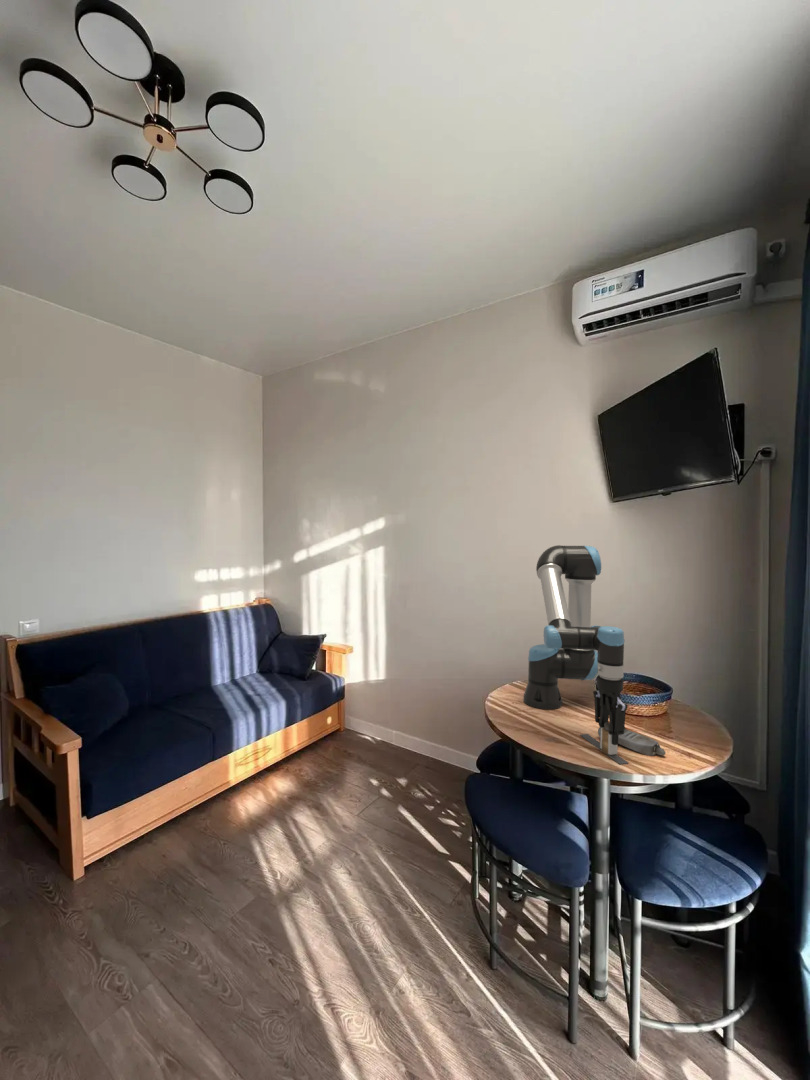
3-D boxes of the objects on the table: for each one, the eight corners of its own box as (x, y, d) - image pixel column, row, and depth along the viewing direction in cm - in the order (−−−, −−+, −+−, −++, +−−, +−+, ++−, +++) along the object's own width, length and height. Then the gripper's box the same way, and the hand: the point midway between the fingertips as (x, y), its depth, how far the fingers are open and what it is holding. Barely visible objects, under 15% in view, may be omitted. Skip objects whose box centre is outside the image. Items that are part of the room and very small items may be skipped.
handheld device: (659, 763, 136) (659, 748, 135) (595, 740, 151) (595, 726, 151) (671, 753, 142) (671, 739, 142) (609, 732, 157) (609, 719, 157)
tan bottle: (599, 749, 142) (600, 721, 142) (609, 748, 143) (609, 721, 143) (606, 755, 139) (607, 726, 139) (616, 754, 140) (617, 725, 139)
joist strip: (579, 735, 153) (579, 734, 153) (587, 734, 154) (587, 733, 154) (619, 764, 134) (619, 763, 134) (628, 763, 134) (628, 762, 134)
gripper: (583, 669, 148) (582, 740, 148) (617, 685, 132) (615, 764, 132) (603, 668, 150) (602, 738, 150) (638, 684, 134) (637, 762, 134)
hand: (608, 750), depth 141 cm, fingers closed on tan bottle, 3 cm apart
